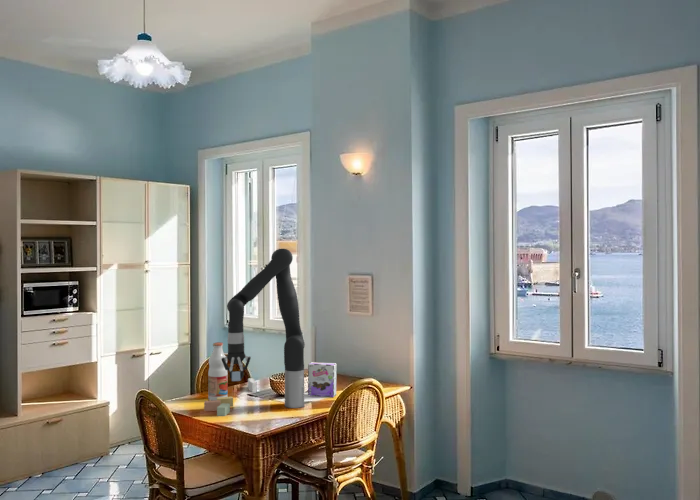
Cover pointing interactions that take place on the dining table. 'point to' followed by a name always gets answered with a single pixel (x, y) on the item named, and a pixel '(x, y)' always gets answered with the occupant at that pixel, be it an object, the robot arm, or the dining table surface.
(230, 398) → the ochre brick
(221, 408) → the sage brick
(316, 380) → the candy box
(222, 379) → the fruit juice
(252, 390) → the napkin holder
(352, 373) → the dining table surface
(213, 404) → the terracotta brick
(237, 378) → the slate brick
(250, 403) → the dining table surface
